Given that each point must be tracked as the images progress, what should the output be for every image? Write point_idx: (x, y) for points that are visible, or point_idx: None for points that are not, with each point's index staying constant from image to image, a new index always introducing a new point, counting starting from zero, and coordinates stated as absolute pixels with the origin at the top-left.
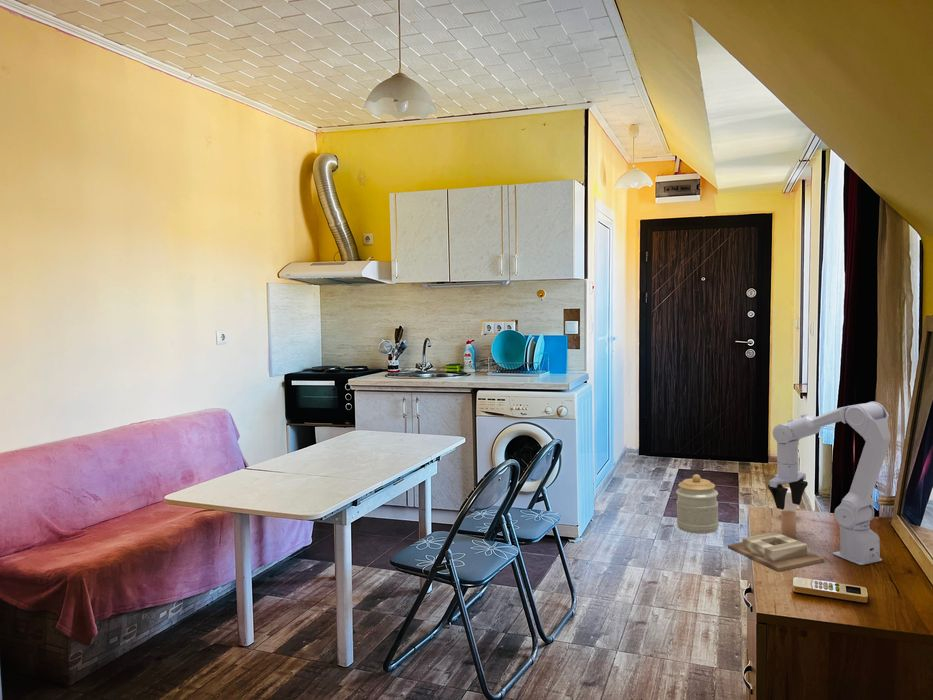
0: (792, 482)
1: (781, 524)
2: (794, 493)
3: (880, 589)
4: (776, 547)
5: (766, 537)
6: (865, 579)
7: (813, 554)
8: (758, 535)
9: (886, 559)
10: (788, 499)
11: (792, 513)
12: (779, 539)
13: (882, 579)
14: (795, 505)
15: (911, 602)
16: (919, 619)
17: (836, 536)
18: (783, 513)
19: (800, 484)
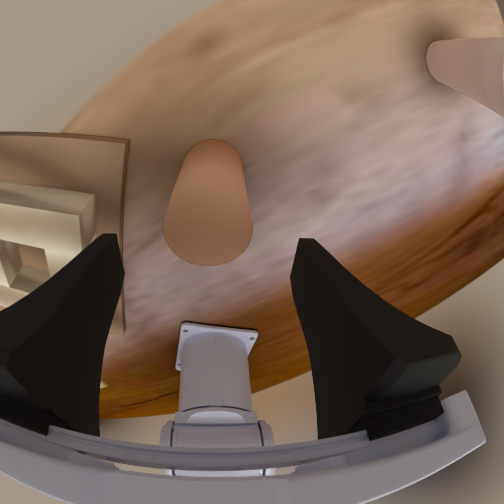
0: (361, 394)
1: (185, 167)
2: (322, 310)
3: (120, 395)
4: (10, 297)
5: (19, 236)
6: (129, 381)
7: (118, 314)
8: (6, 208)
9: (253, 370)
10: (488, 83)
11: (205, 257)
12: (49, 266)
13: (154, 390)
14: (480, 102)
15: (125, 412)
16: (99, 416)
17: (347, 258)
18: (163, 224)
19: (328, 428)
